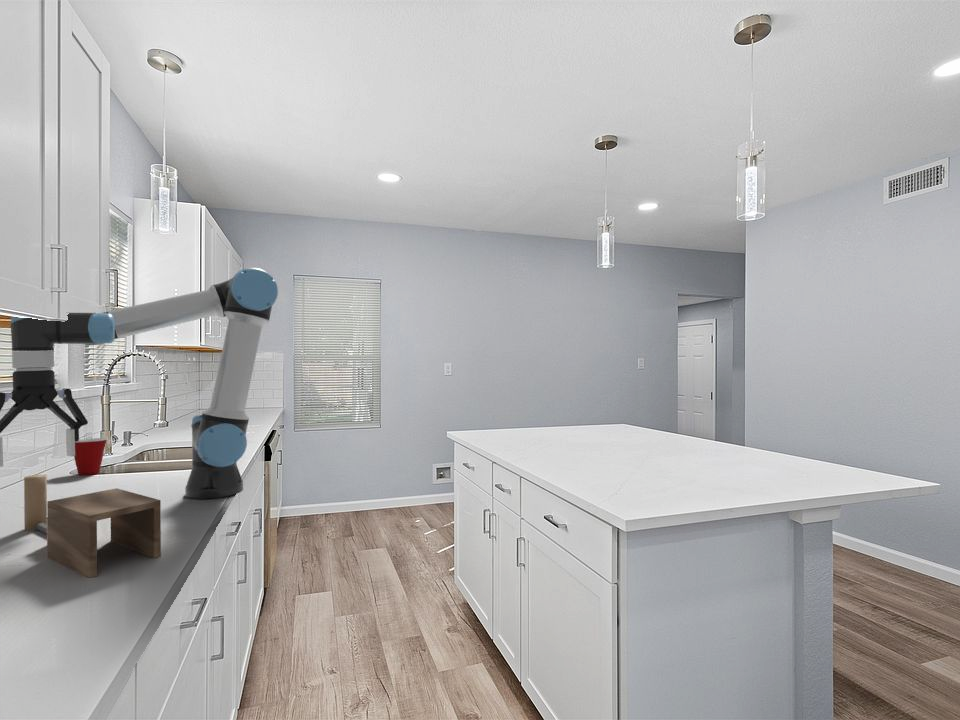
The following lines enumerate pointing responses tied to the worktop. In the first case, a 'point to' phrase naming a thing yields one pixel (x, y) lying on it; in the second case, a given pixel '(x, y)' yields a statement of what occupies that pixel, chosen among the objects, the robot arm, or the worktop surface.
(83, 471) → the plastic cup
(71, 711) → the worktop surface
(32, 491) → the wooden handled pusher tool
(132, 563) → the worktop surface
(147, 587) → the worktop surface
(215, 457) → the robot arm
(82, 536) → the shelf lane
